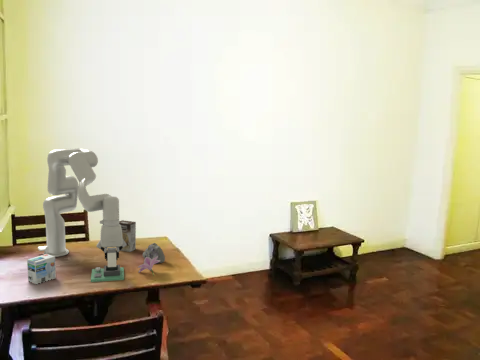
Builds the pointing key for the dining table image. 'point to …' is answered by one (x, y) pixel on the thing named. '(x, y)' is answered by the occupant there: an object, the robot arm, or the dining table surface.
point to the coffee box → (128, 235)
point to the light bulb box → (41, 268)
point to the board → (107, 273)
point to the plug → (111, 257)
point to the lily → (148, 264)
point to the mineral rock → (154, 253)
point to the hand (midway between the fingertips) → (111, 259)
